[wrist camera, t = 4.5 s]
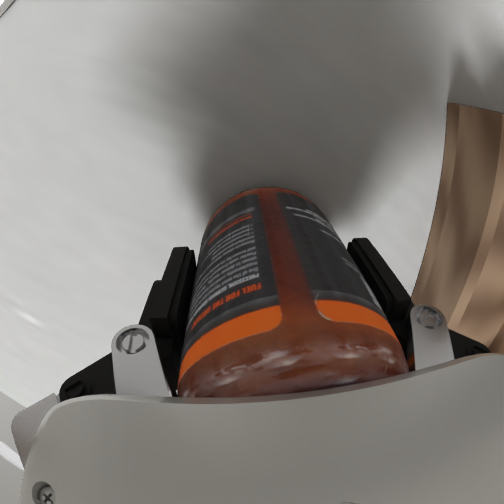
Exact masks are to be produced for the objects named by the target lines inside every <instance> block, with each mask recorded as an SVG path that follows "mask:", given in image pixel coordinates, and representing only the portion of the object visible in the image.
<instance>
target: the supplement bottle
mask: <svg viewBox="0 0 504 504" xmlns="http://www.w3.org/2000/svg"><path fill="white" fill-rule="evenodd" d="M408 372H409V368H408V364H407V361H406V358H405V355H404V352H403V350H402V347H401V345H400V343H399V341H398V339H397V337H396V335H395V333H394V331H393V329H392V328H391V326H390V324H389V322H388V320H387V318H386V316H385V314H384V312H383V310H382V309H381V307H380V305H379V303H378V301H377V300H376V298H375V296H374V294H373V293H372V291H371V289H370V287H369V286H368V284H367V282H366V281H365V279H364V277H363V275H362V273H361V272H360V270H359V269H358V267H357V265H356V264H355V262H354V261H353V259H352V257H351V256H350V254H349V253H348V251H347V249H346V248H345V246H344V244H343V243H342V241H341V240H340V238H339V237H338V235H337V234H336V232H335V230H334V229H333V227H332V226H331V224H330V223H329V222H328V220H327V218H326V217H325V216H324V214H323V213H322V212H321V211H320V210H319V209H318V207H317V206H316V205H315V204H313V203H312V202H311V201H310V200H309V199H308V198H306V197H304V196H302V195H301V194H299V193H297V192H294V191H292V190H288V189H283V188H276V187H263V188H256V189H250V190H247V191H244V192H242V193H240V194H238V195H235V196H234V197H232V198H231V199H229V200H228V201H227V202H225V203H224V204H223V205H222V206H221V207H220V208H219V209H218V210H217V211H216V212H215V213H214V215H213V216H212V217H211V219H210V220H209V222H208V225H207V227H206V230H205V233H204V235H203V238H202V242H201V248H200V253H199V257H198V263H197V269H196V273H195V279H194V284H193V290H192V295H191V300H190V305H189V312H188V318H187V324H186V329H185V337H184V344H183V348H182V352H181V361H180V370H179V380H178V388H177V397H194V398H224V397H251V396H267V395H280V394H290V393H300V392H308V391H316V390H323V389H330V388H336V387H342V386H348V385H354V384H359V383H364V382H369V381H374V380H379V379H383V378H388V377H392V376H396V375H400V374H404V373H408Z"/></svg>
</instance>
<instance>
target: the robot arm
mask: <svg viewBox="0 0 504 504" xmlns="http://www.w3.org/2000/svg"><path fill="white" fill-rule="evenodd" d="M13 1H14V0H0V16H1V15H2V14H3V13H4V12H5V11H6V9H7V8H8V7H9V6H10V4H11V3H12V2H13ZM347 251H348V253H349V254H350V256H351V257H352V259H353V261H354V262H355V264H356V265H357V267H358V269H359V270H360V272H361V273H362V275H363V277H364V279H365V281H366V282H367V284H368V286H369V287H370V289H371V291H372V293H373V294H374V296H375V298H376V300H377V301H378V303H379V305H380V307H381V309H382V310H383V312H384V314H385V316H386V318H387V320H388V322H389V324H390V326H391V328H392V329H393V331H394V333H395V335H396V337H397V339H398V341H399V343H400V345H401V347H402V350H403V352H404V355H405V358H406V361H407V364H408V368H409V372H408V373H404V374H400V375H396V376H392V377H388V378H383V379H379V380H374V381H369V382H364V383H359V384H354V385H348V386H342V387H336V388H330V389H323V390H316V391H308V392H300V393H290V394H280V395H267V396H251V397H224V398H194V397H177V388H178V380H179V370H180V361H181V352H182V348H183V344H184V337H185V329H186V324H187V318H188V312H189V305H190V300H191V295H192V290H193V284H194V279H195V273H196V269H197V266H196V260H195V254H194V250H189V248H188V247H174V248H173V250H172V253H171V256H170V258H169V261H168V264H167V266H166V269H165V272H164V275H163V277H162V280H156V281H155V282H154V283H153V286H152V288H151V291H150V294H149V296H148V299H147V302H146V305H145V307H144V310H143V313H142V316H141V318H140V321H139V324H138V325H137V324H136V325H130V326H127V327H124V328H123V329H121V330H120V331H118V332H117V333H116V335H115V336H114V338H113V340H112V345H111V347H112V352H111V353H110V354H108V355H106V356H105V357H103V358H101V359H100V360H98V361H96V362H95V363H93V364H91V365H90V366H88V367H86V368H85V369H83V370H81V371H80V372H78V373H76V374H75V375H73V376H71V377H70V378H68V379H67V380H66V381H65V382H64V383H63V385H62V386H61V388H60V391H59V394H58V395H57V396H56V395H55V394H54V393H53V394H51V395H49V396H48V397H46V398H44V399H42V400H41V401H39V402H37V403H35V404H33V405H32V406H30V407H28V408H26V409H25V410H23V411H21V412H19V413H18V414H17V415H16V416H15V417H14V419H13V420H12V425H11V429H12V434H13V437H14V441H15V444H16V447H17V450H18V453H19V456H20V459H21V462H22V464H23V467H24V474H23V479H22V484H21V490H20V496H19V502H18V504H504V354H499V353H491V352H490V350H489V349H488V348H487V347H486V346H485V345H484V344H482V343H480V342H478V341H476V340H473V339H471V338H469V337H466V336H464V335H462V334H460V333H457V332H455V331H453V330H451V329H448V326H447V322H446V319H445V316H444V315H443V313H442V312H441V311H440V310H439V309H437V308H436V307H434V306H432V305H428V304H418V305H416V306H415V305H414V304H413V302H412V301H411V300H412V299H411V297H410V296H409V294H408V293H407V291H406V290H405V289H404V287H403V286H402V284H401V283H400V281H399V280H398V279H397V277H396V276H395V274H394V273H393V272H392V270H391V269H390V267H389V266H388V265H387V263H386V262H385V261H384V259H383V258H382V257H381V255H380V254H379V253H378V251H377V250H376V249H375V247H374V246H373V245H372V243H371V242H370V241H369V240H368V239H367V238H354V239H353V240H352V242H349V243H348V247H347Z"/></svg>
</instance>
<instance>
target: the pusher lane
mask: <svg viewBox="0 0 504 504" xmlns="http://www.w3.org/2000/svg"><path fill="white" fill-rule="evenodd" d="M411 299H412V300H411V301H412V302H413V304H414V305H415V306H416V305H418V304H428V305H432V306H434V307H436V308H437V309H439V310H440V311H441V312H442V313H443V315H444V316H445V319H446V322H447V326H448V329H451V330H453V331H455V332H457V333H460V334H462V335H464V336H466V337H469V338H471V339H473V340H476V341H478V342H480V343H482V344H484V345H485V346H486V347H487V348H488V349H489V350H490V352H491V353H499V354H504V114H503V113H499V112H495V111H491V110H486V109H482V108H477V107H471V106H466V105H460V104H454V103H448V105H447V126H446V139H445V150H444V158H443V166H442V174H441V180H440V186H439V192H438V198H437V203H436V208H435V213H434V218H433V222H432V227H431V231H430V235H429V239H428V243H427V247H426V251H425V254H424V258H423V262H422V265H421V268H420V272H419V275H418V278H417V281H416V284H415V288H414V291H413V293H412V296H411Z"/></svg>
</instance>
